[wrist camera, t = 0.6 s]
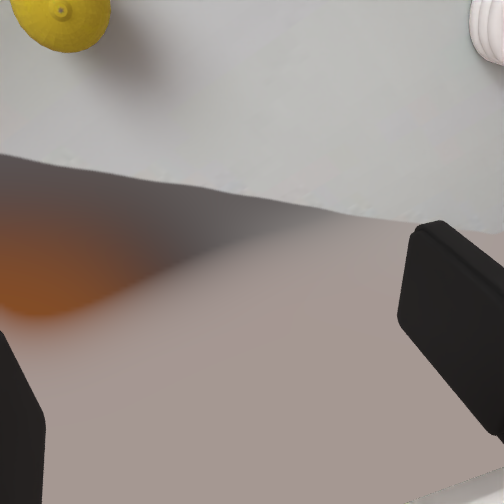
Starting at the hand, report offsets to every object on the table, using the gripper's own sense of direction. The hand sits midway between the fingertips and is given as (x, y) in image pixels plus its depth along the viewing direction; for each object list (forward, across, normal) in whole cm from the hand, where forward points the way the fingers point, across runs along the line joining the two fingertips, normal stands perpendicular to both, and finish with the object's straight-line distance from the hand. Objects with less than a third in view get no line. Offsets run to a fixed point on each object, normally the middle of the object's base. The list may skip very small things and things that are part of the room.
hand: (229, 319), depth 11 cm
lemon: (+30, +3, -4) cm, 30 cm away
